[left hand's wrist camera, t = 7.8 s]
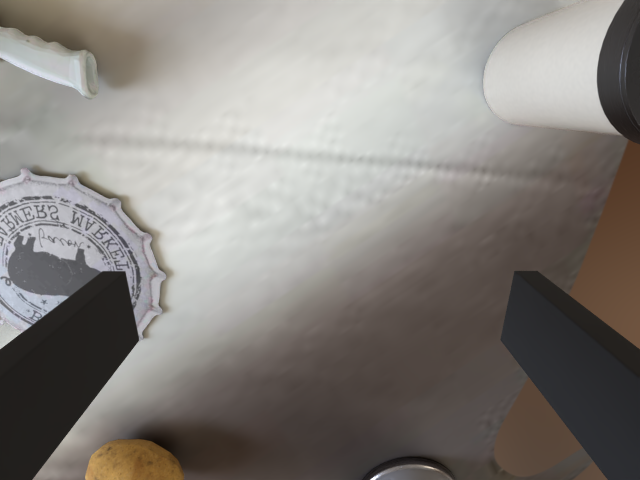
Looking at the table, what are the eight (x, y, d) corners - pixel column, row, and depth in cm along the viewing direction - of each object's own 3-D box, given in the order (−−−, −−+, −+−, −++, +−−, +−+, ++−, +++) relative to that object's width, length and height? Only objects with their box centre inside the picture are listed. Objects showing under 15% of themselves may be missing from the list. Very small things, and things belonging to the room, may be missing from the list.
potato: (112, 413, 50) (81, 459, 44) (200, 441, 52) (184, 489, 46) (97, 458, 53) (66, 507, 47) (182, 483, 55) (164, 534, 48)
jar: (582, 109, 37) (808, 114, 20) (489, 136, 38) (627, 163, 21) (578, 5, 34) (842, -95, 17) (476, 38, 35) (627, -26, 18)
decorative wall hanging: (-68, 152, 38) (-19, 380, 48) (-72, 153, 38) (-21, 382, 48) (167, 188, 39) (165, 402, 50) (166, 189, 39) (164, 404, 49)
